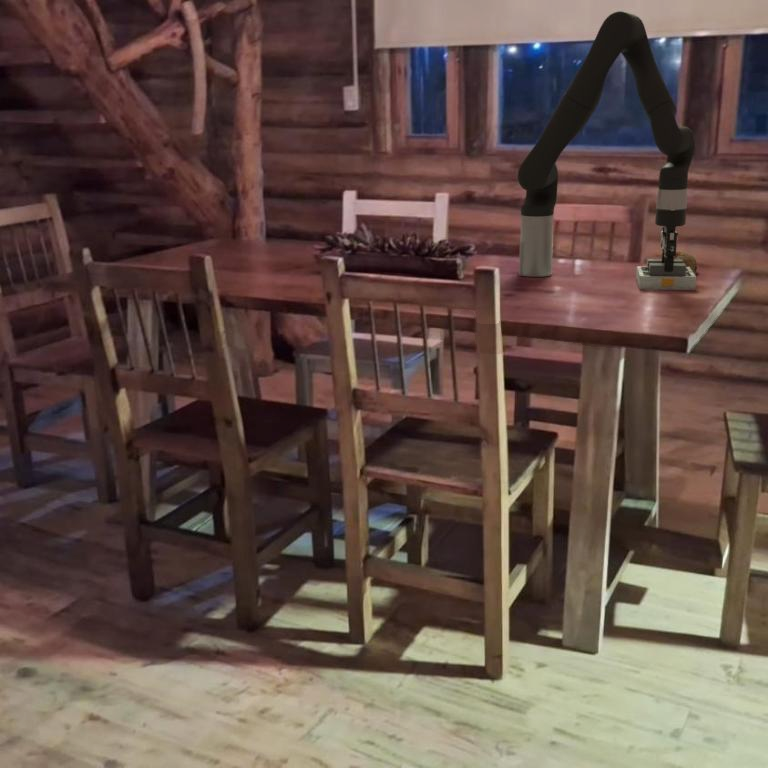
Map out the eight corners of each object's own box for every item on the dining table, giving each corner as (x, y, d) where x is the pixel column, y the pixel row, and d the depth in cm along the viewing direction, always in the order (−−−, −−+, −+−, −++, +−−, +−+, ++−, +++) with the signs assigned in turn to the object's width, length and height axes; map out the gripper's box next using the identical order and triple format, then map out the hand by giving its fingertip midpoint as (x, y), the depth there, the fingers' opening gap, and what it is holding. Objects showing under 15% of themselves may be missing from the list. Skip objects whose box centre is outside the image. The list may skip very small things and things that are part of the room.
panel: (648, 284, 232) (650, 265, 230) (648, 281, 235) (649, 262, 234) (684, 284, 230) (686, 265, 228) (683, 281, 233) (684, 263, 232)
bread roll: (688, 288, 247) (703, 263, 244) (655, 272, 249) (670, 247, 246) (689, 282, 256) (703, 258, 253) (657, 266, 258) (670, 242, 255)
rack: (639, 289, 230) (640, 267, 228) (636, 278, 244) (637, 257, 243) (695, 290, 227) (697, 267, 225) (688, 279, 242) (690, 257, 240)
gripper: (654, 203, 234) (650, 264, 238) (658, 209, 220) (654, 273, 225) (683, 203, 232) (679, 264, 237) (689, 209, 219) (684, 273, 224)
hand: (667, 268), depth 231 cm, fingers open, 8 cm apart
